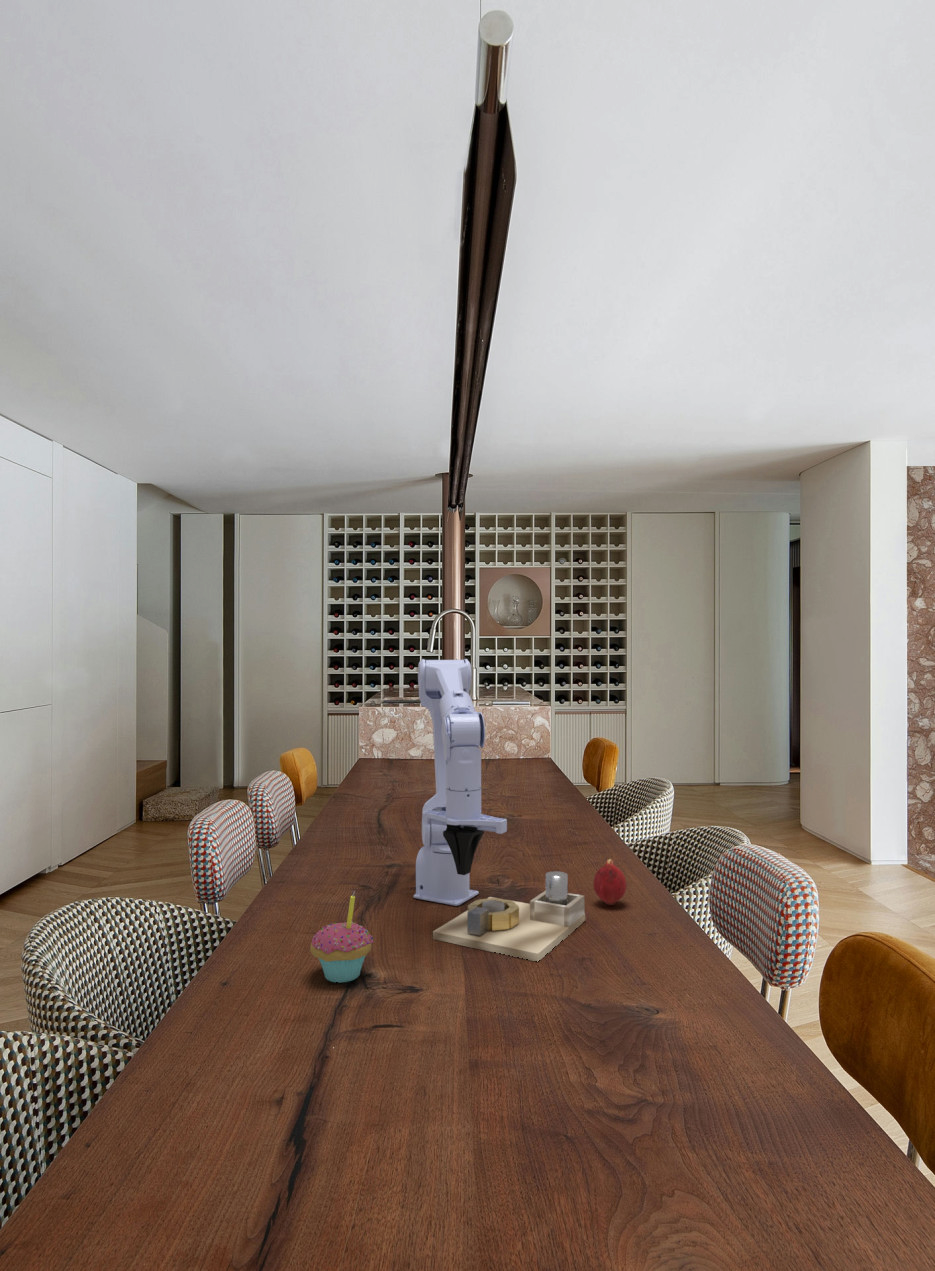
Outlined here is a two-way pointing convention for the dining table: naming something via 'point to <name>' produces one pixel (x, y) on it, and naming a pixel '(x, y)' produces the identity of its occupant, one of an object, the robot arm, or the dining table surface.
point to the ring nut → (491, 917)
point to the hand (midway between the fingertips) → (463, 873)
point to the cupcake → (342, 948)
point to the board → (520, 928)
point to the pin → (557, 887)
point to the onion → (609, 883)
